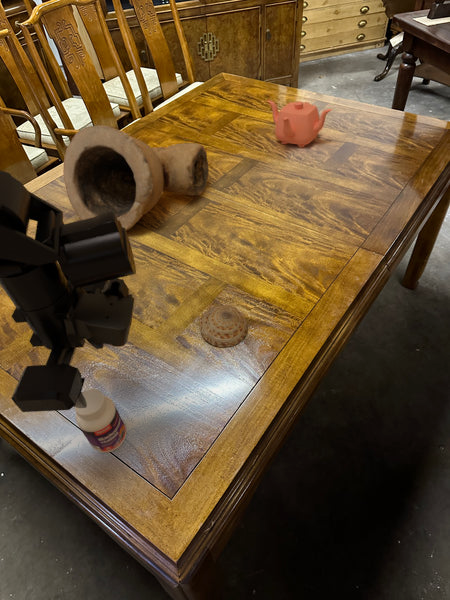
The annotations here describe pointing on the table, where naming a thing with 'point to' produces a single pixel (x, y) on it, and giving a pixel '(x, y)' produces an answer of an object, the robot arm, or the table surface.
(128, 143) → the pipe
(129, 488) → the table surface
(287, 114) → the teapot
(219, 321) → the seashell
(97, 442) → the pill bottle
